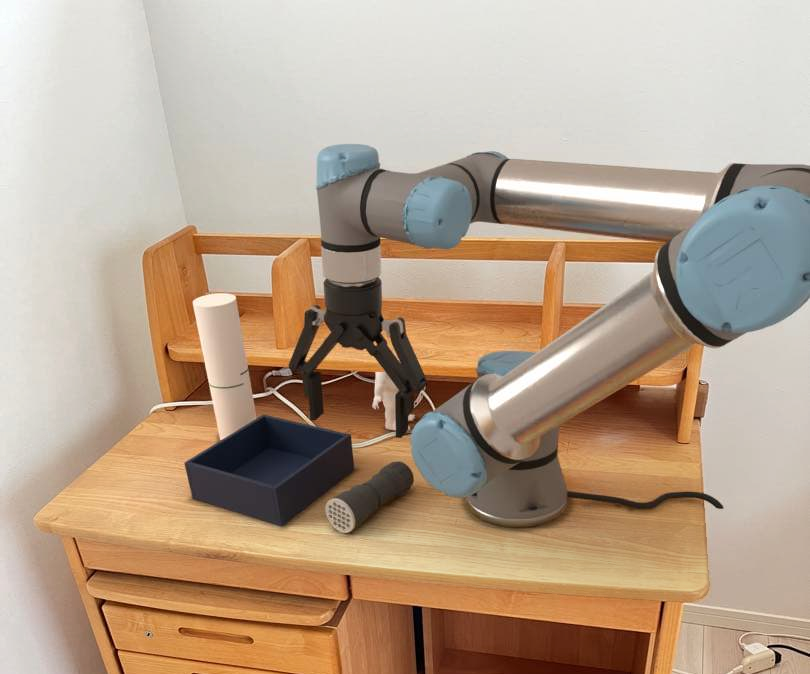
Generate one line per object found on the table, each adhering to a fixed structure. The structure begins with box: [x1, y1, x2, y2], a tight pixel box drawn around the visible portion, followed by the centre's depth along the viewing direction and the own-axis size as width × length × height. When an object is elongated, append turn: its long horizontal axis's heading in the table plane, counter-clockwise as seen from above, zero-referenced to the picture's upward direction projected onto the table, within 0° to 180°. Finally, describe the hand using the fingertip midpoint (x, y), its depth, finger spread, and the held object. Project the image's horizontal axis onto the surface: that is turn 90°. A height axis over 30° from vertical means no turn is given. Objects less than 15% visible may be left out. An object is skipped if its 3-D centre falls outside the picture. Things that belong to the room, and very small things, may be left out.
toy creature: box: [371, 371, 416, 433], centre depth 147 cm, size 12×6×12 cm, turn 168°
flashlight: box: [324, 460, 415, 534], centre depth 124 cm, size 15×5×5 cm, turn 142°
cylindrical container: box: [192, 292, 258, 441], centre depth 143 cm, size 7×7×25 cm
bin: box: [183, 413, 355, 527], centre depth 132 cm, size 18×19×7 cm
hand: (358, 425), depth 118 cm, fingers open, 13 cm apart
